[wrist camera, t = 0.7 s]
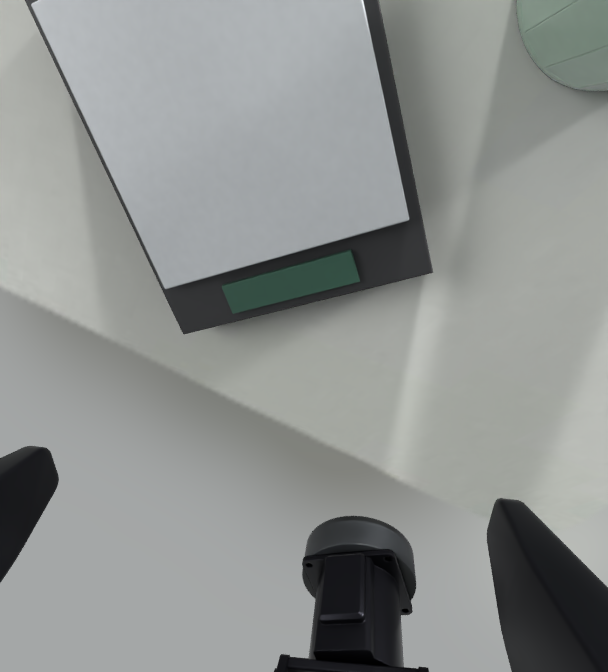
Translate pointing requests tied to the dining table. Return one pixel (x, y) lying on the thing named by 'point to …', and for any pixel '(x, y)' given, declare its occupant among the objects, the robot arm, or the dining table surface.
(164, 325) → the dining table surface
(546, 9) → the tumbler
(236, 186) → the scale
